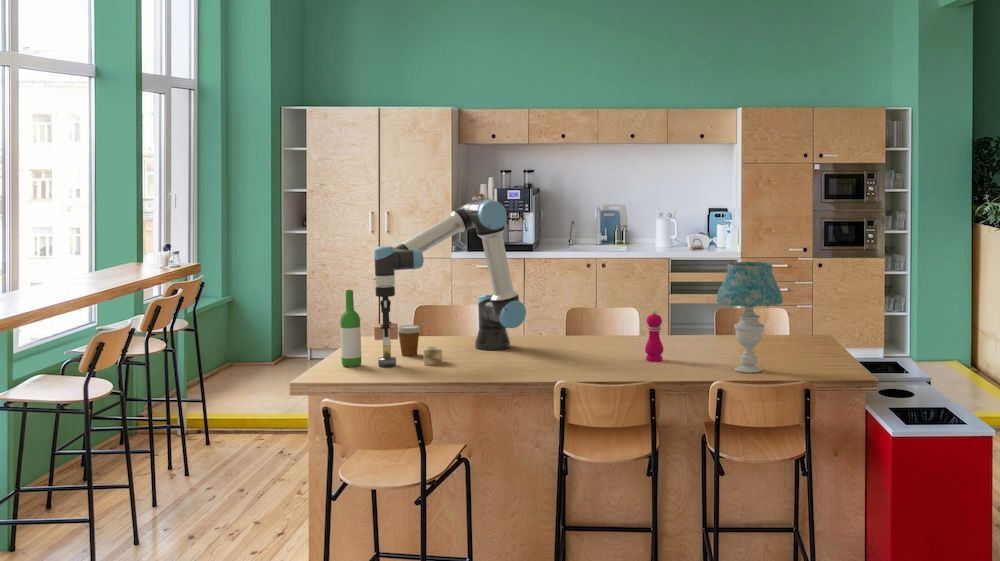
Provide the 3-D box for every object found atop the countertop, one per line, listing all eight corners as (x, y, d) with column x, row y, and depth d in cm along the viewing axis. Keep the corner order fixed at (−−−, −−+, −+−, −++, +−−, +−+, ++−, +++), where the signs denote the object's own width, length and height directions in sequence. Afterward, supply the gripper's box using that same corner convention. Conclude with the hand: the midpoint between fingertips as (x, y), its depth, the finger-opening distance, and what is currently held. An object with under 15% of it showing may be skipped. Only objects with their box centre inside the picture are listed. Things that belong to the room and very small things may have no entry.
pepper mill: (664, 359, 393) (665, 309, 391) (661, 362, 386) (661, 312, 384) (646, 358, 395) (646, 308, 393) (643, 361, 389) (643, 311, 387)
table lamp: (793, 375, 359) (795, 265, 355) (732, 379, 354) (733, 268, 350) (763, 363, 382) (764, 260, 378) (705, 366, 377) (706, 262, 373)
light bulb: (396, 363, 393) (395, 338, 392) (396, 367, 386) (395, 341, 385) (378, 364, 392) (377, 339, 391) (378, 367, 385) (377, 342, 384)
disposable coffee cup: (417, 357, 405) (416, 328, 404) (394, 357, 407) (394, 328, 406) (423, 353, 414) (422, 325, 413) (401, 352, 416) (401, 324, 415)
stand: (441, 361, 396) (441, 346, 396) (442, 364, 390) (441, 349, 389) (423, 361, 396) (423, 347, 395) (424, 365, 389) (424, 350, 388)
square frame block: (397, 335, 392) (397, 323, 392) (398, 339, 384) (397, 326, 383) (375, 336, 392) (374, 323, 391) (374, 340, 383) (374, 327, 382)
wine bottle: (345, 368, 385) (342, 291, 382) (339, 365, 392) (336, 289, 389) (364, 366, 389) (362, 290, 385) (357, 363, 396) (355, 288, 392)
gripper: (375, 283, 396) (377, 338, 398) (374, 289, 374) (376, 348, 377) (394, 282, 396) (396, 338, 399) (394, 289, 375) (396, 347, 377)
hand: (386, 343), depth 388 cm, fingers closed on square frame block, 9 cm apart
